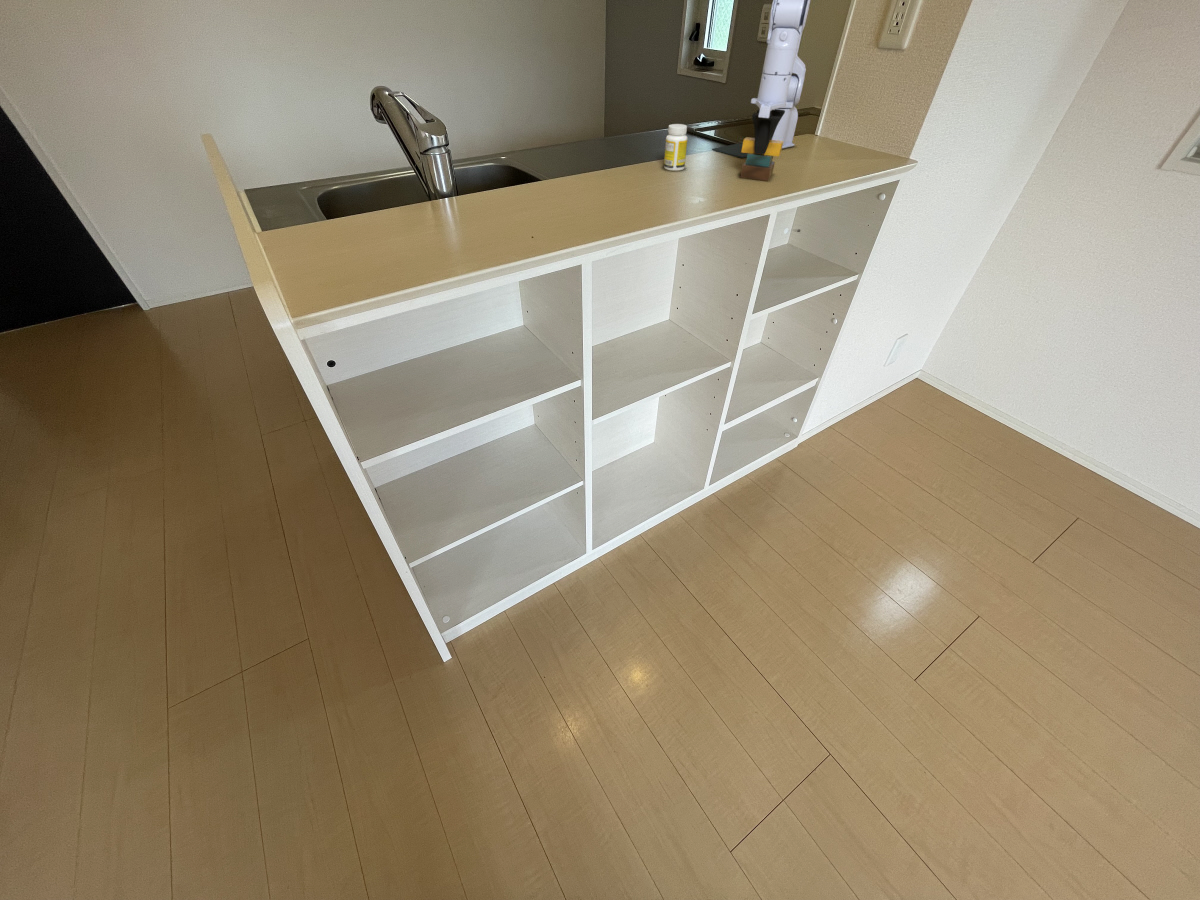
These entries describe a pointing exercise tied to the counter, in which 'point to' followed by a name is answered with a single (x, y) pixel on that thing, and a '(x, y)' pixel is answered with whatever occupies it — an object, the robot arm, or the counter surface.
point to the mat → (732, 150)
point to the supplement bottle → (675, 147)
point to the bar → (772, 149)
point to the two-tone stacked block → (757, 167)
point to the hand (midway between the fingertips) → (761, 151)
